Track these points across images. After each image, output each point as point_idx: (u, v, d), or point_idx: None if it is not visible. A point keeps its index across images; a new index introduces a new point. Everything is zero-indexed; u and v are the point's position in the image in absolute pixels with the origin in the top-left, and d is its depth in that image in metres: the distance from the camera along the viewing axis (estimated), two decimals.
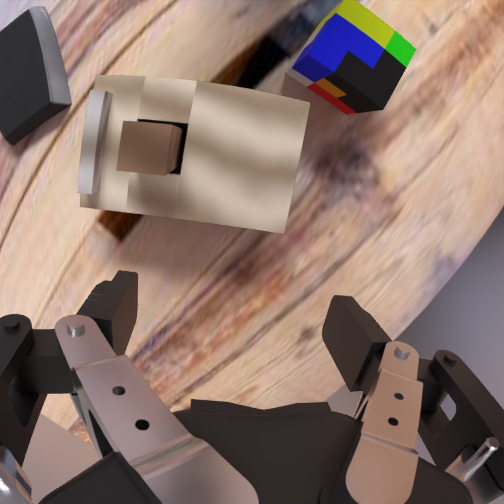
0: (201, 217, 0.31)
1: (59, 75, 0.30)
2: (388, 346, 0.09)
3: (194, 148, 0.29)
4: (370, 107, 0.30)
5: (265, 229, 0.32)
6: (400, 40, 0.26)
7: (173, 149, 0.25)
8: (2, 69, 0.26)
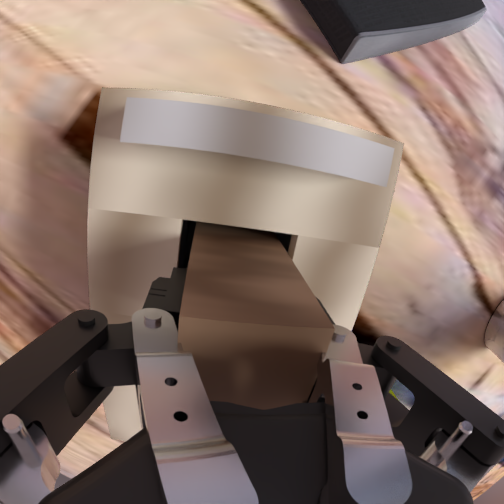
0: None
1: (394, 46, 0.18)
2: None
3: None
4: None
5: (109, 423, 0.17)
6: None
7: None
8: None
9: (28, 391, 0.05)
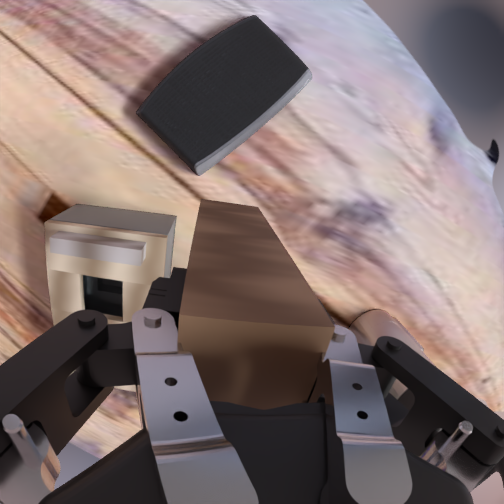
0: None
1: (227, 152, 0.35)
2: None
3: None
4: None
5: None
6: None
7: None
8: (223, 67, 0.30)
9: (28, 391, 0.05)
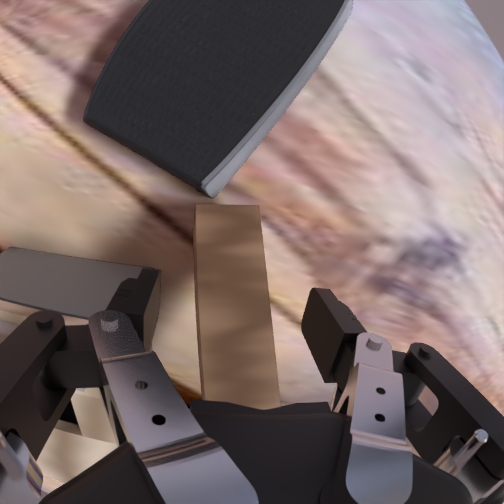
0: None
1: (252, 148, 0.20)
2: (359, 338, 0.09)
3: (59, 435, 0.17)
4: None
5: None
6: None
7: None
8: (210, 5, 0.14)
9: (0, 399, 0.04)
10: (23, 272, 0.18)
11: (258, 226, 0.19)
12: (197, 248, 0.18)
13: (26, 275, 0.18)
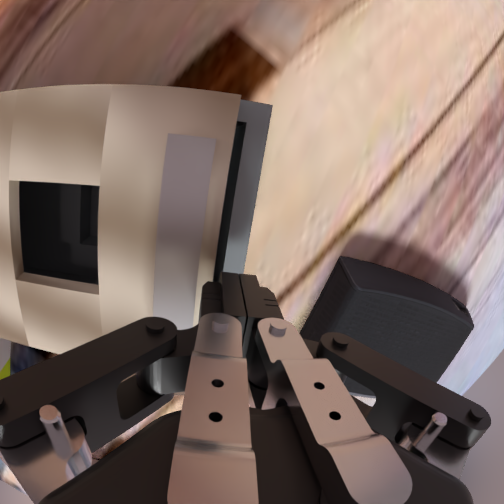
0: None
1: None
2: (261, 327, 0.09)
3: None
4: None
5: None
6: None
7: None
8: (423, 341, 0.25)
9: (75, 387, 0.05)
10: None
11: None
12: None
13: None
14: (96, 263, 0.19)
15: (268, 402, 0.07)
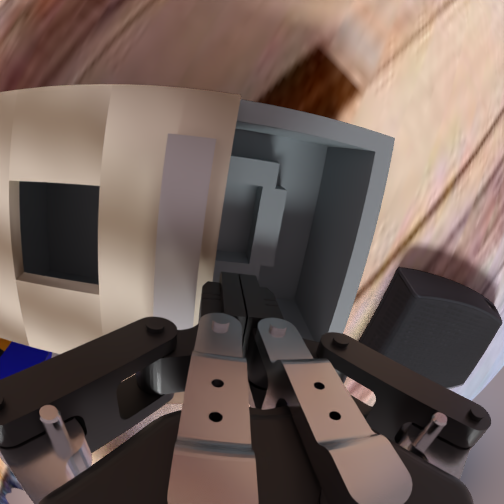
0: None
1: None
2: (261, 327, 0.09)
3: None
4: None
5: None
6: None
7: None
8: (463, 338, 0.26)
9: (75, 387, 0.05)
10: None
11: None
12: None
13: None
14: None
15: (268, 402, 0.07)
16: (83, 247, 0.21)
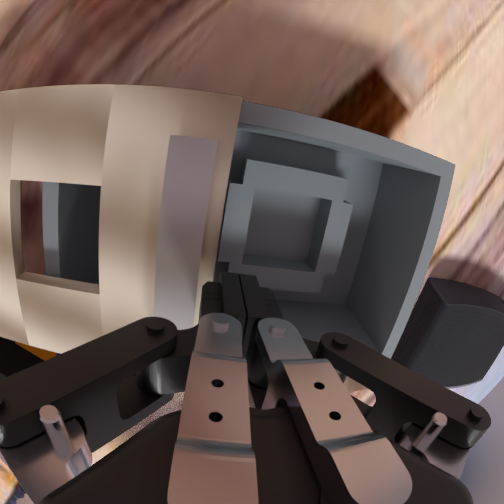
0: None
1: None
2: (261, 327, 0.09)
3: None
4: None
5: None
6: None
7: None
8: (484, 338, 0.27)
9: (75, 387, 0.05)
10: None
11: (356, 389, 0.26)
12: None
13: None
14: None
15: (268, 402, 0.07)
16: None
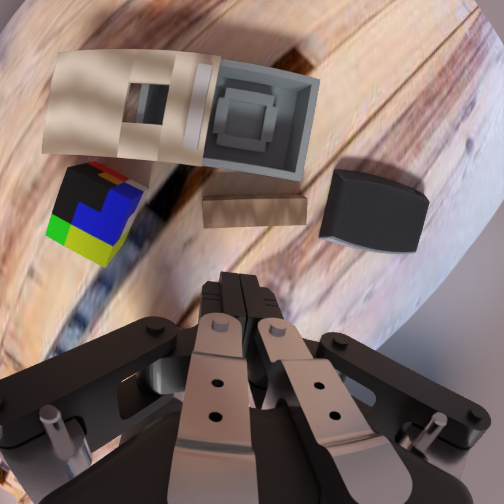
0: (115, 52, 0.29)
1: (345, 245, 0.50)
2: (261, 327, 0.09)
3: (117, 103, 0.32)
4: (77, 167, 0.35)
5: (70, 52, 0.28)
6: (59, 238, 0.36)
7: None
8: (394, 210, 0.47)
9: (75, 387, 0.05)
10: None
11: (296, 224, 0.46)
12: (287, 199, 0.44)
13: None
14: (231, 144, 0.41)
15: (268, 402, 0.07)
16: None
